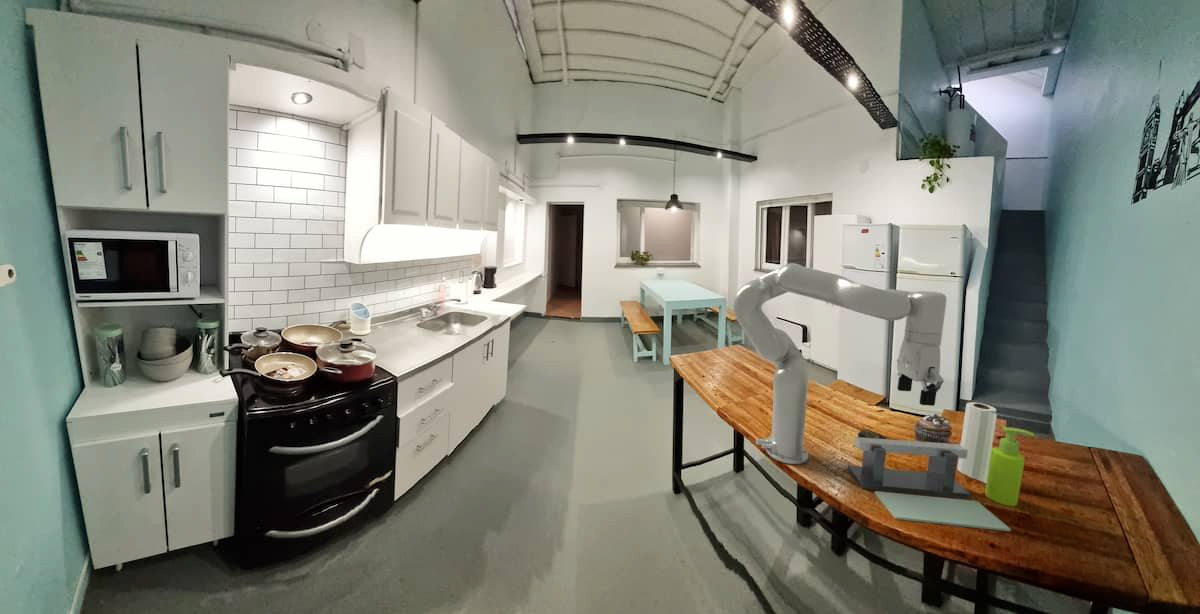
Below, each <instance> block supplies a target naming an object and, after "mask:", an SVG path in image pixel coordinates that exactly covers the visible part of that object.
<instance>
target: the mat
mask: <svg viewBox="0 0 1200 614" xmlns="http://www.w3.org/2000/svg"><path fill="white" fill-rule="evenodd" d="M874 494H875V495H876V497H877V498H878V500H879V501H880V502H881V503H882V504H883V506H884V507H885V508H886V510H888V511H887V512H889V513H890V514H891V516H892V517H893V518H894V519H895V520H901V521H908V522H909V521H910V522H911V521H912V522H918V523H919V522H921V523H929V524H937V525H947V526H954V527H955V526H958V527H964V528H965V527H966V528H973V529H975V528H976V529H984V530H994V531H1003V532H1011V530H1012V529H1011V528H1010V527H1009V526H1007V525H1006V524H1005V523H1004V522H1003V521H1002V520H1001V519H999V518H998V517H997V516H995V515H994V514H993V513H992V512H991V511H990V510H988V509H987V508H986V507H985V506H984V505H982V504H981V503H980V502H979V501H978V500H971V499H962V498H952V497H941V496H931V495H921V494H910V493H900V492H890V491H879V490H874Z"/></svg>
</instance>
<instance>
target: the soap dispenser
mask: <svg viewBox="0 0 1200 614" xmlns="http://www.w3.org/2000/svg"><path fill="white" fill-rule="evenodd" d="M1002 430H1003V431H1004V432H1005V437H1001V438H1000V440H999V446H998V447H992V450H991V457H990V463H989V470H988V476H987V483H985V489H984V490H985V491H984V495H985V496H986V497H987V498H988V499H990V500H991V501H993V502H995V503H998V504H1000V505H1004V506H1008V507H1009V506H1011V507H1014V506H1017V505H1018V502H1019V496H1020V490H1021V483H1022V477H1023V471H1024V465H1025V460H1026V458H1025V456H1024V455H1023V454H1021V453H1019V449H1020V442H1019V441H1017V440H1016V437H1017V434H1019V435H1025V436H1029V437H1031V438H1035V437H1036V435H1035V434H1034V433H1033V432H1031V431H1028V430H1026V429H1021V428H1017V427H1006V426H1003V427H1002Z"/></svg>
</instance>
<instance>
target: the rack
mask: <svg viewBox="0 0 1200 614" xmlns="http://www.w3.org/2000/svg"><path fill="white" fill-rule="evenodd" d="M862 452H863V453H862V459H861V460H862V461H861V466H859V465H858V466H857V465H847V469H846V470H847V471H848V473H849V474H850V476H851V477H852V478H853V480H854V481H855V483H857V485H858V486H859V487H860V488H861V490H862V489H863V490H871V491H872V490H873V491H880V492H890V493H900V494H911V495H921V496H932V497H942V498H953V499H963V500H971V496H972V493H970V492H969V491H968V490H967V489H965V488H964V487H963V486H962V485H961V484H960V483H959V482H957V481H956V479H955V478H956V473H957V472H956V471H957V467H958V460H959V458H958V456H957V455H956V454H955V453H944V456H943V457H939V456H928V457H929V458H928V464H927V471H920V470H919V471H916V470H906V469H905V470H904V469H892V468H891V469H890V468H885V466H886V465H885V464H886V456H887V455H886V454H887V452H886V450H885V449H884V448H875V447H874V450H873V451H862ZM913 493H914V494H913Z"/></svg>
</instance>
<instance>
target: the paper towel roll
mask: <svg viewBox="0 0 1200 614" xmlns="http://www.w3.org/2000/svg"><path fill="white" fill-rule="evenodd" d="M997 417H998V414H997V408H995V407H994V406H992V405H988V404H986V403H981V402H975V401H974V402H971V401H970V402H967V403H966V405H965V412H964V419H963V425H962V433H961V439H960V445H961V446H963V447H964V448H965V449H967V450H968V452H967V459H965V458H958V459H957V466H956V469H957V470H958V472H959V473H961V474H963V475H965V476H966V477H968V478H971V479H974V480H977V481H979V482H981V483H984V484H986V483H987V476H988V470H989V463H990V457H991V450H992V448H993V443H994V439H995V431H996V424H997Z"/></svg>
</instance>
